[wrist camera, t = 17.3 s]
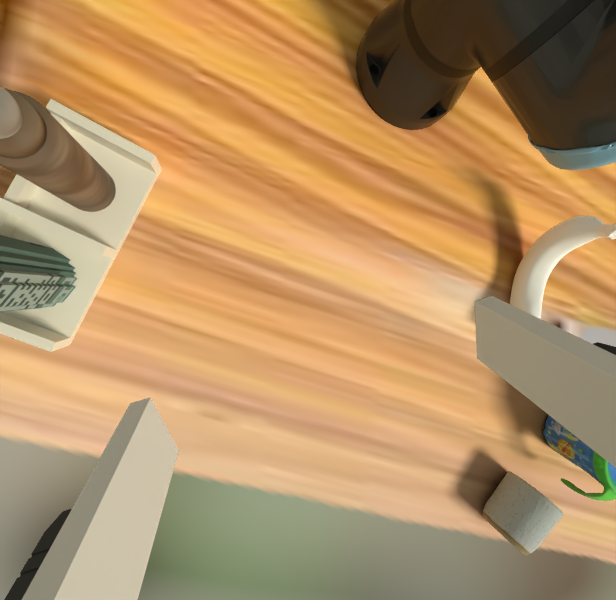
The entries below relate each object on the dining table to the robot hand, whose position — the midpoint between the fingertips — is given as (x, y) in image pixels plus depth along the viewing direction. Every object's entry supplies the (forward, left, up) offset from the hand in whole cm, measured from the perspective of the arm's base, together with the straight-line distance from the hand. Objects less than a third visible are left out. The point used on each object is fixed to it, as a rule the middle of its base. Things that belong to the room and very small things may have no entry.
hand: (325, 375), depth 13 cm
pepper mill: (-5, -22, -27) cm, 35 cm away
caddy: (0, -22, -28) cm, 36 cm away
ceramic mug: (+10, +48, -29) cm, 57 cm away
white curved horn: (-21, +35, -28) cm, 49 cm away
